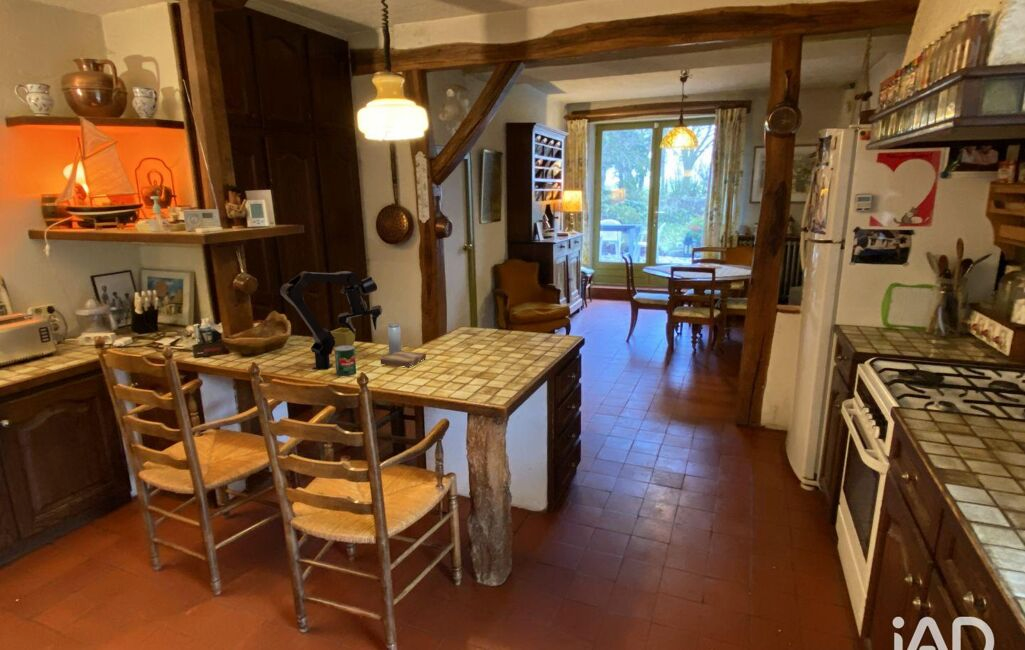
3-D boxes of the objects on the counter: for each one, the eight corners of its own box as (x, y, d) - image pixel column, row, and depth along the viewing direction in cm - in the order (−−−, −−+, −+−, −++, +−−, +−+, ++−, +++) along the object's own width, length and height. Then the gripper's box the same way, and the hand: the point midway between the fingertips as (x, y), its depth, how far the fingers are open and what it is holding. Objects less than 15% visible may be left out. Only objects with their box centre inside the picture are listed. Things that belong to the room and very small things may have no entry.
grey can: (399, 356, 257) (398, 326, 254) (387, 355, 257) (386, 326, 254) (403, 352, 262) (401, 323, 259) (391, 352, 262) (389, 323, 259)
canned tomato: (346, 378, 226) (344, 351, 224) (331, 375, 230) (329, 348, 227) (360, 372, 233) (358, 346, 230) (346, 369, 236) (344, 344, 234)
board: (409, 368, 238) (409, 362, 238) (380, 364, 243) (380, 358, 243) (426, 359, 251) (425, 353, 251) (398, 356, 256) (398, 350, 256)
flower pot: (346, 351, 264) (345, 333, 262) (330, 350, 266) (329, 331, 264) (357, 347, 272) (356, 328, 270) (341, 345, 275) (340, 327, 273)
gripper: (378, 288, 253) (388, 320, 259) (337, 298, 252) (347, 329, 258) (375, 296, 242) (385, 330, 248) (332, 306, 242) (343, 339, 248)
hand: (365, 332), depth 251 cm, fingers open, 9 cm apart
